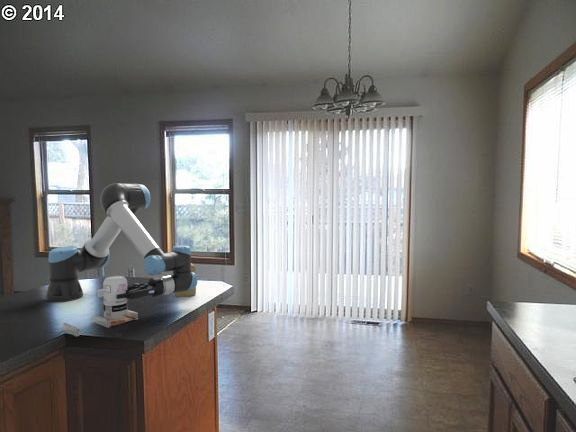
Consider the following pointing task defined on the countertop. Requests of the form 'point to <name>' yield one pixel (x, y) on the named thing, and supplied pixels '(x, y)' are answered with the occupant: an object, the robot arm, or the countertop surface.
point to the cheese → (189, 292)
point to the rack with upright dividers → (101, 322)
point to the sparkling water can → (117, 307)
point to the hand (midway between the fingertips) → (102, 295)
